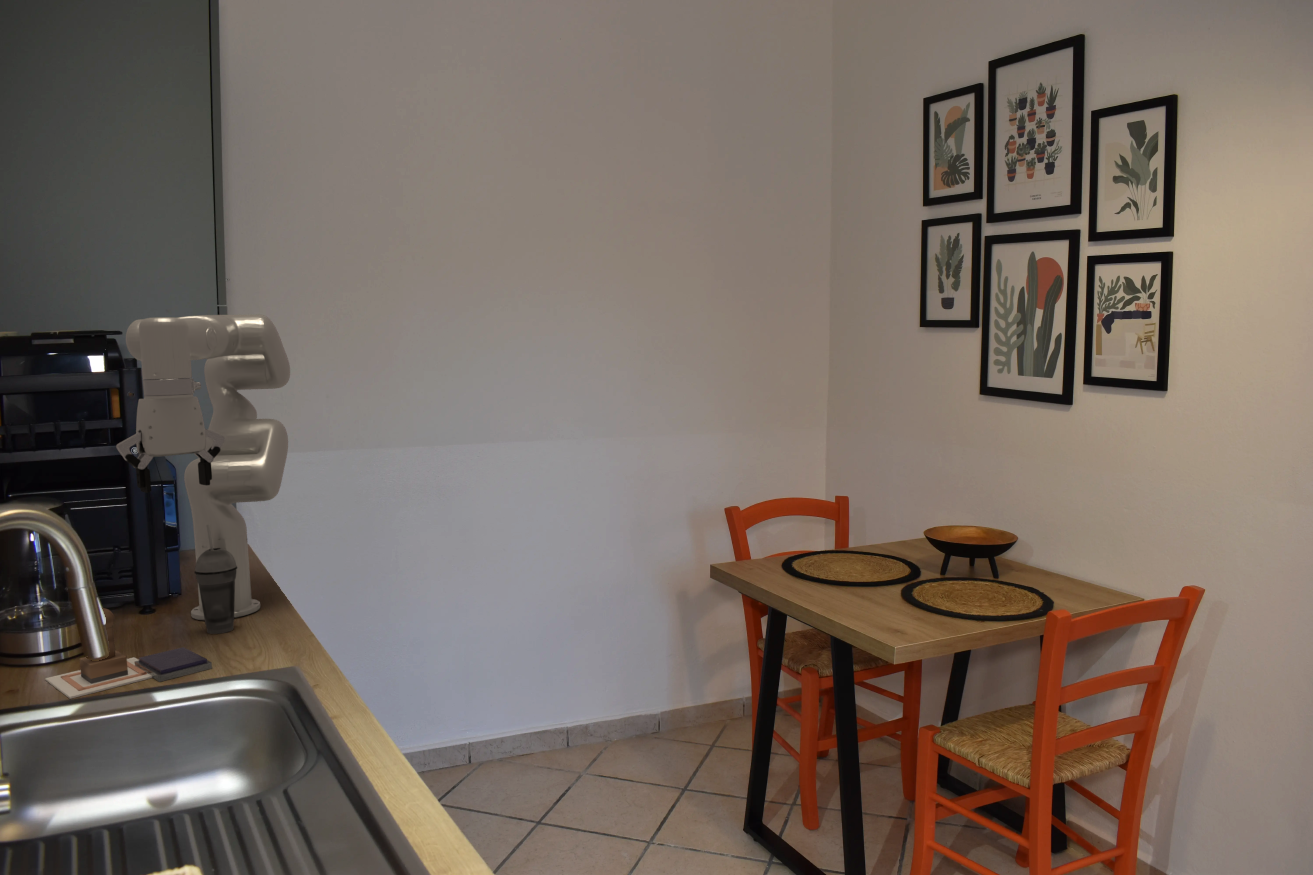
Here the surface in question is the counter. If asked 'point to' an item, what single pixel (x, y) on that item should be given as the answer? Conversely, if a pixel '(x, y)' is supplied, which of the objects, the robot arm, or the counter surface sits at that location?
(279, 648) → the counter surface
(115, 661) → the stamp
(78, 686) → the print card
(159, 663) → the ink pad
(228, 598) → the beverage cup
